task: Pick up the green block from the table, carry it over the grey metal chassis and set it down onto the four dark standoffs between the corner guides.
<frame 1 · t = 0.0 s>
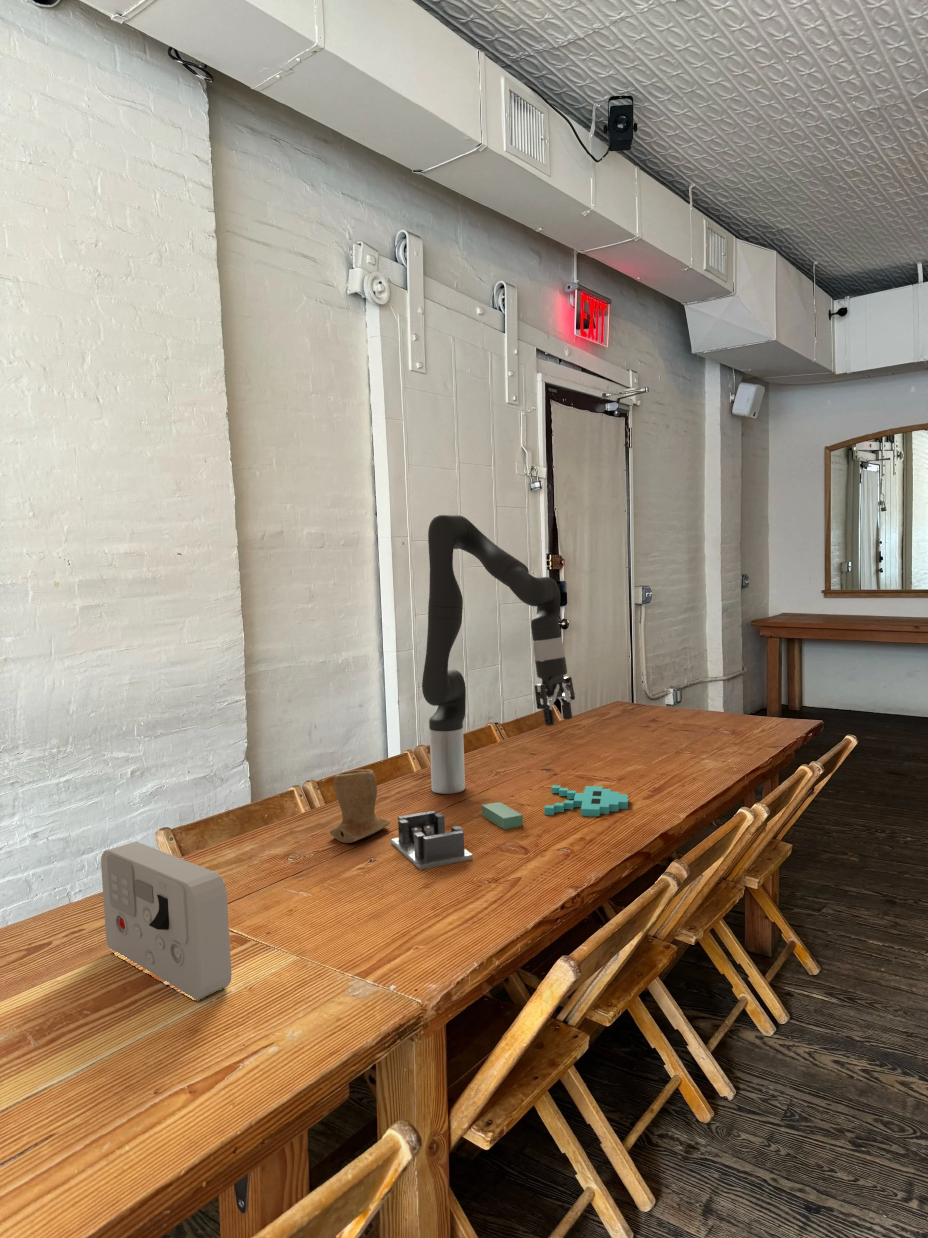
hand: (559, 722, 206), 22 cm above the table, tool pointing down, fingers open, 8 cm apart
alien figure: (587, 806, 213), on the table
green block: (502, 822, 202), on the table
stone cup: (357, 835, 195), on the table
grey button box: (166, 972, 133), on the table
chassis: (430, 851, 182), on the table
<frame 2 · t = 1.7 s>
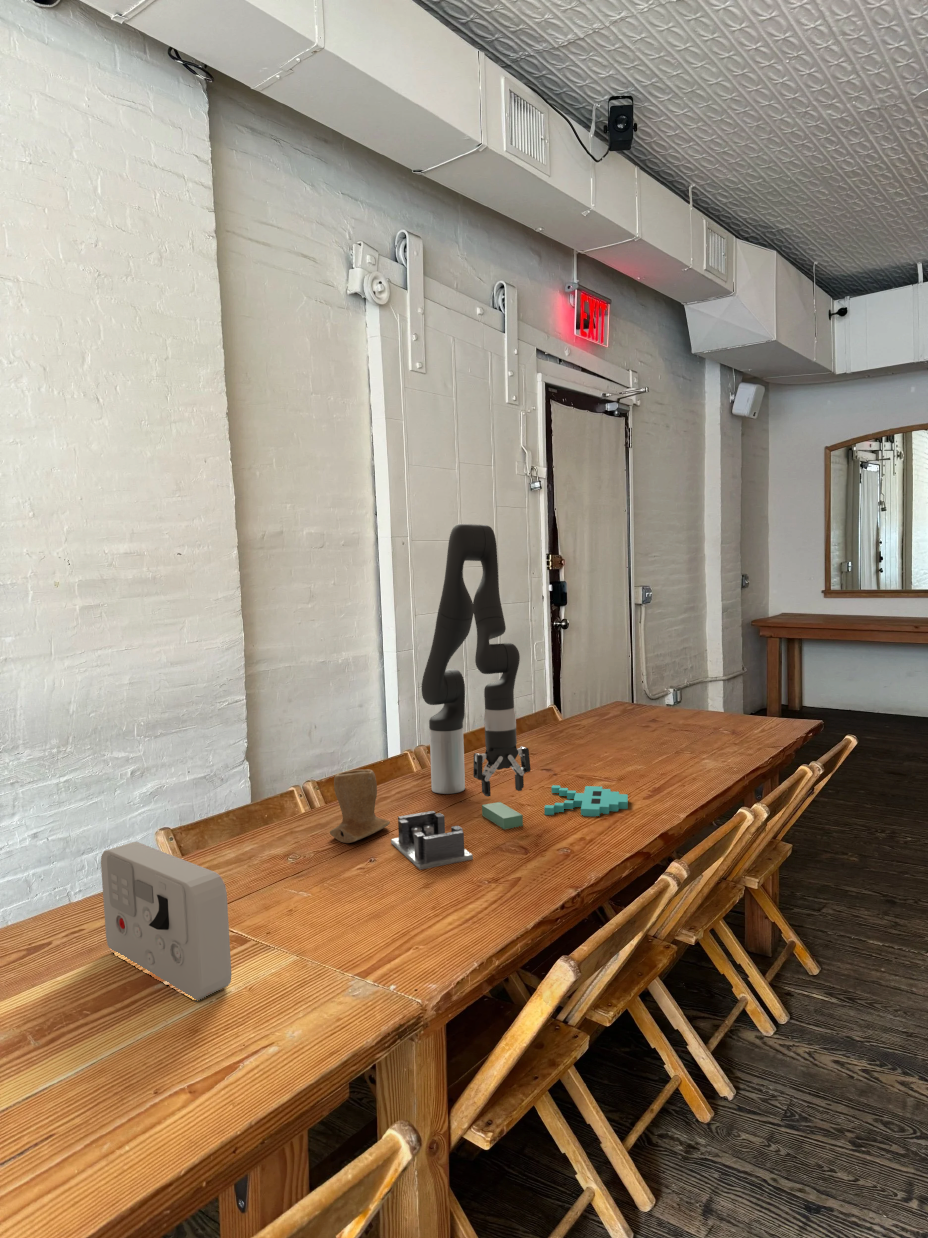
hand: (503, 793, 201), 7 cm above the table, tool pointing down, fingers open, 8 cm apart
nothing on the table moved.
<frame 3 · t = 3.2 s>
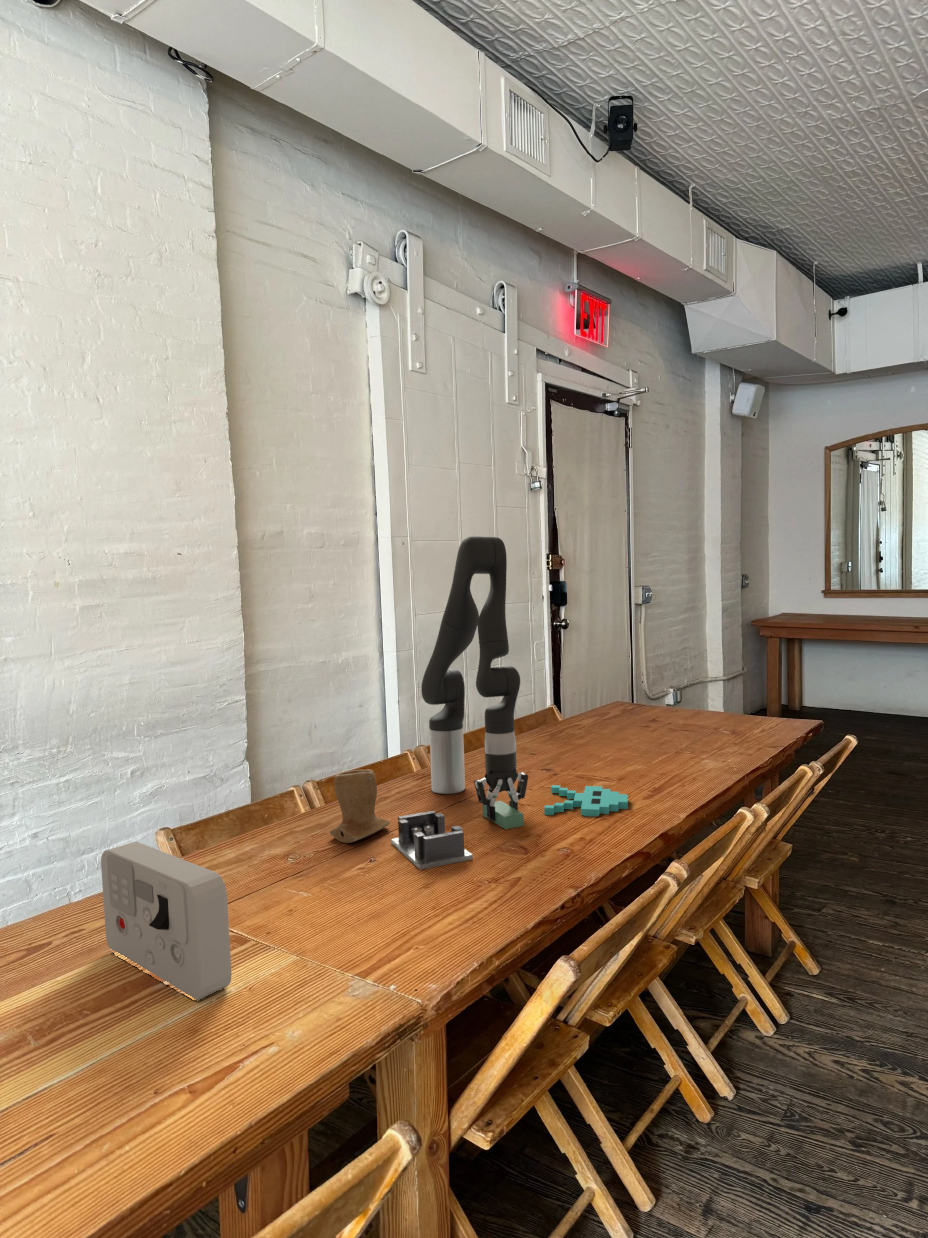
hand: (502, 818, 202), 1 cm above the table, tool pointing down, fingers closed on green block, 5 cm apart
green block: (502, 820, 202), on the table, touching gripper
everything else where it was.
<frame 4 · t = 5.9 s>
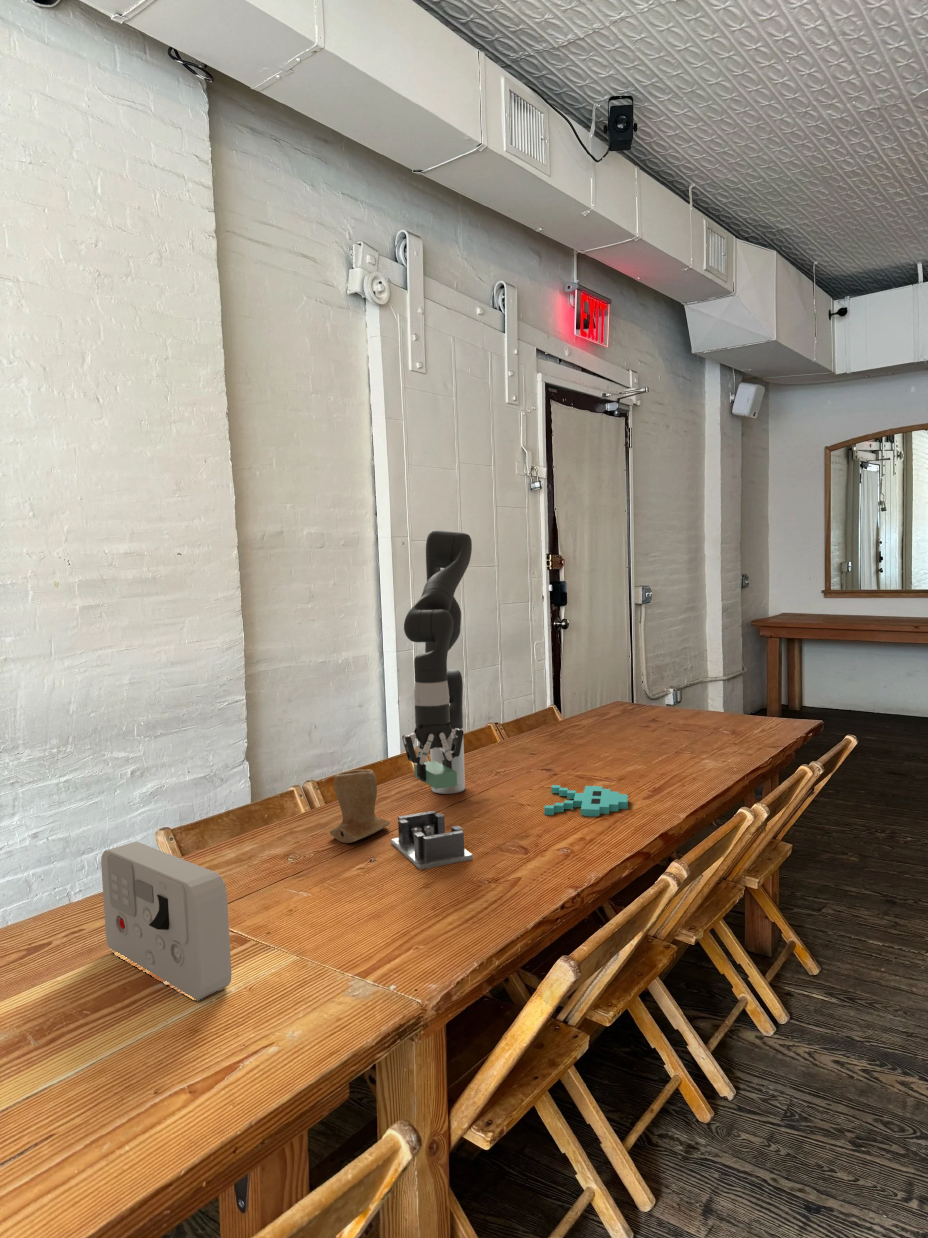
hand: (434, 778, 182), 16 cm above the table, tool pointing down, fingers closed on green block, 5 cm apart
green block: (435, 781, 182), point 15 cm above the table, touching gripper
everything else where it was.
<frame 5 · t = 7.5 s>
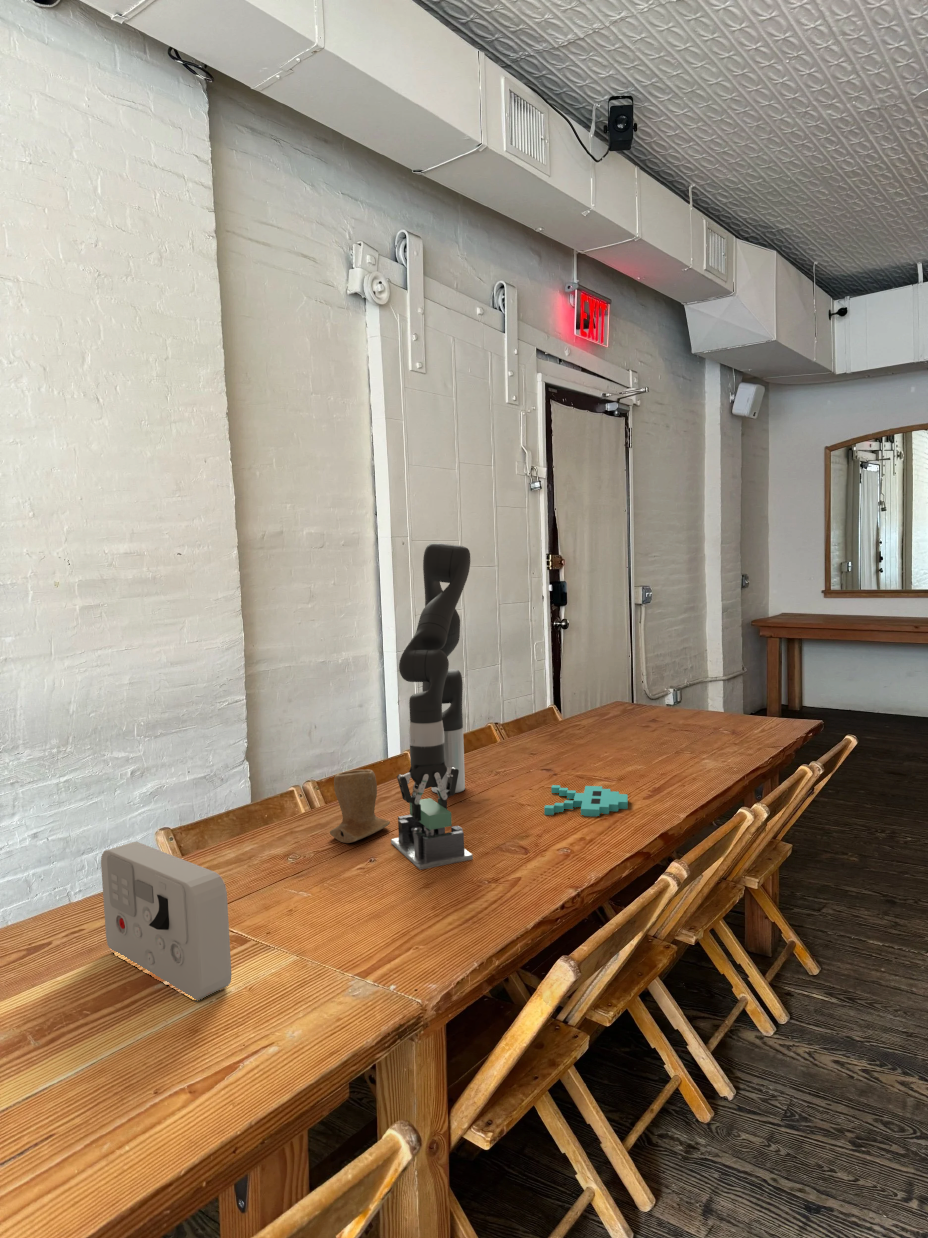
hand: (429, 817, 182), 8 cm above the table, tool pointing down, fingers closed on green block, 5 cm apart
green block: (430, 820, 182), point 7 cm above the table, touching gripper
everything else where it was.
when the fingers open (6 cm above the table, at t = 8.7 s): green block drops 1 cm, resting on chassis.
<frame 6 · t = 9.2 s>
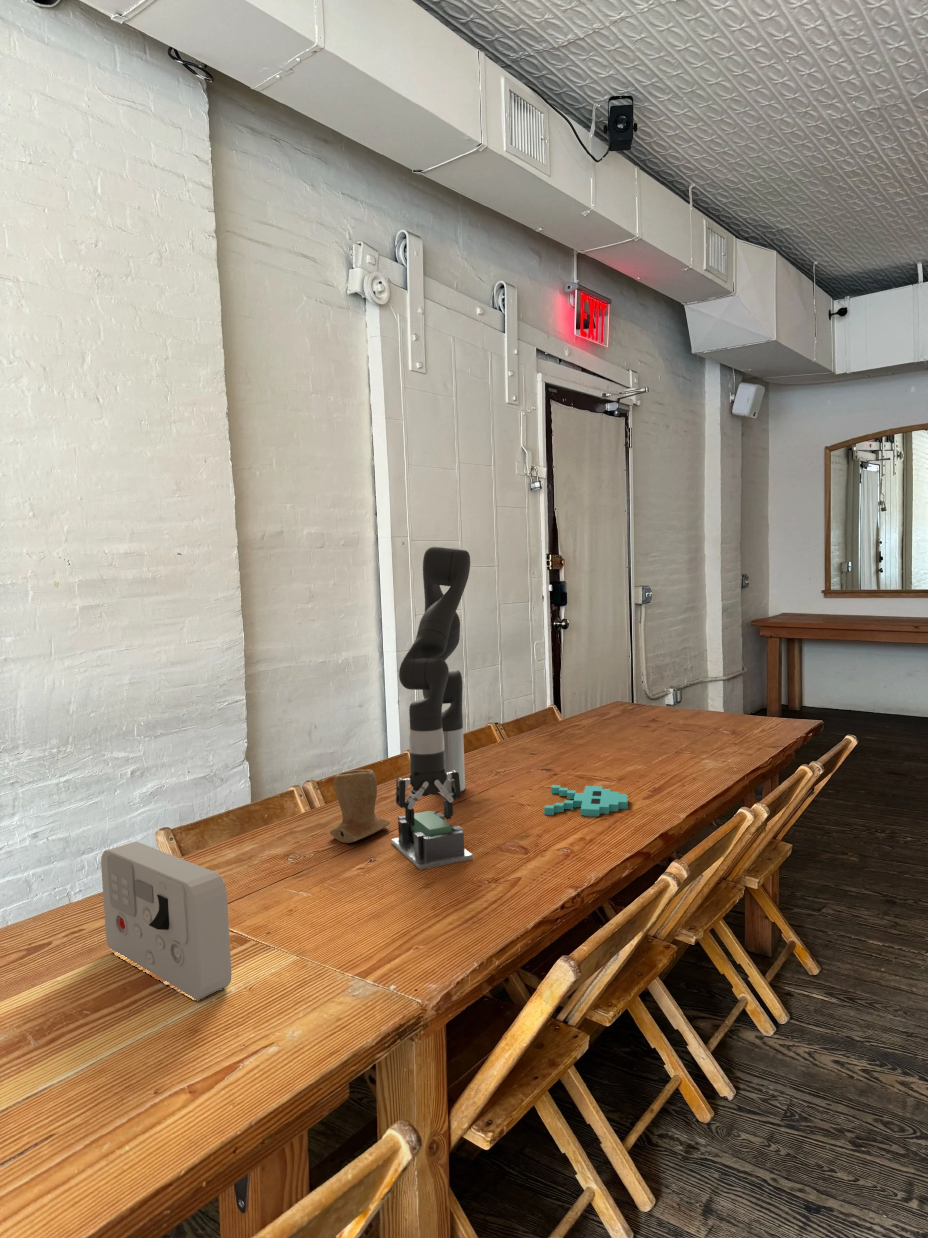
hand: (429, 821, 182), 7 cm above the table, tool pointing down, fingers open, 8 cm apart
green block: (430, 833, 182), point 4 cm above the table, touching chassis
everything else where it was.
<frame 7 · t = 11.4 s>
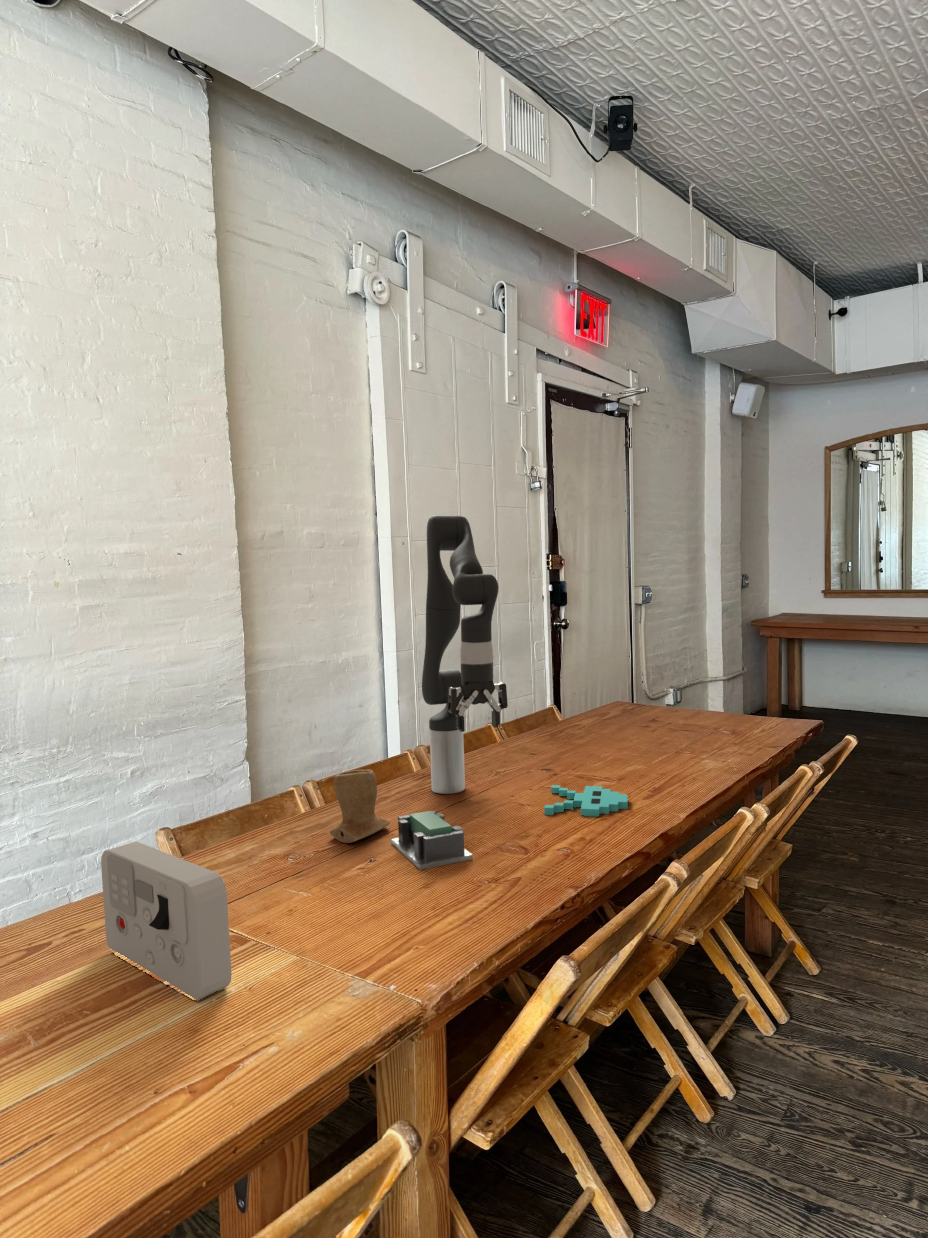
hand: (478, 729, 195), 24 cm above the table, tool pointing down, fingers open, 8 cm apart
nothing on the table moved.
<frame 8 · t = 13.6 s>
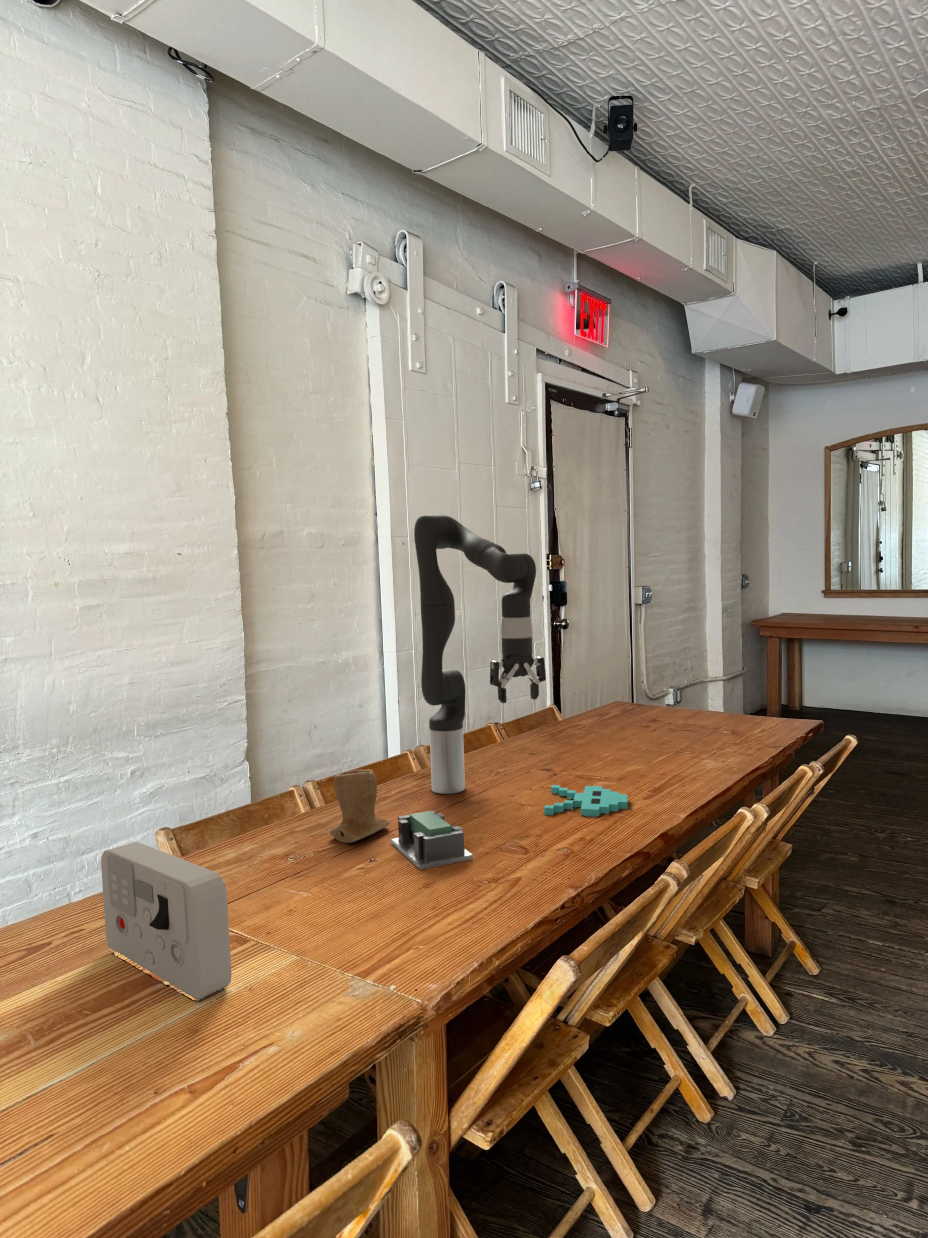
hand: (518, 700, 205), 28 cm above the table, tool pointing down, fingers open, 8 cm apart
nothing on the table moved.
at the end: green block 0.1 cm off-centre on the chassis, point 4.0 cm above the chassis's base; green block tilted 0°; the gripper is holding nothing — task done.
